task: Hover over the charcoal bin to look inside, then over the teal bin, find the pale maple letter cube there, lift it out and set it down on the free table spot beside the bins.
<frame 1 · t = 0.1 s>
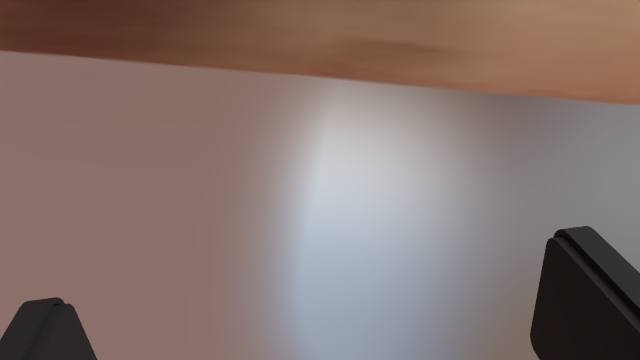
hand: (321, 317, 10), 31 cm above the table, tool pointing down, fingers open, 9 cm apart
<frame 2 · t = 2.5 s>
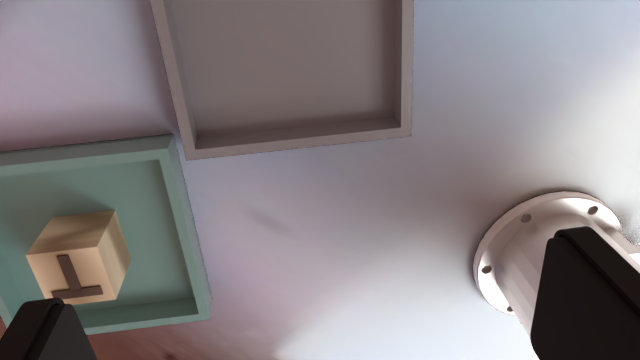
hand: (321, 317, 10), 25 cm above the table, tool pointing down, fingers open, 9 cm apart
letter cube: (92, 238, 36), resting on teal bin
teal bin: (94, 235, 37), on the table
charcoal bin: (286, 25, 31), on the table
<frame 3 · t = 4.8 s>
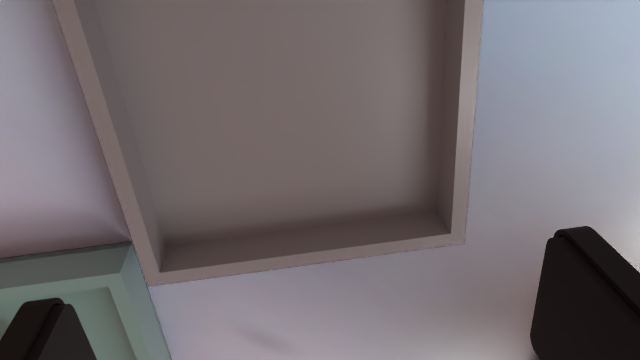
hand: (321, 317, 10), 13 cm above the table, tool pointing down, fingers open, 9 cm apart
charcoal bin: (288, 95, 21), on the table
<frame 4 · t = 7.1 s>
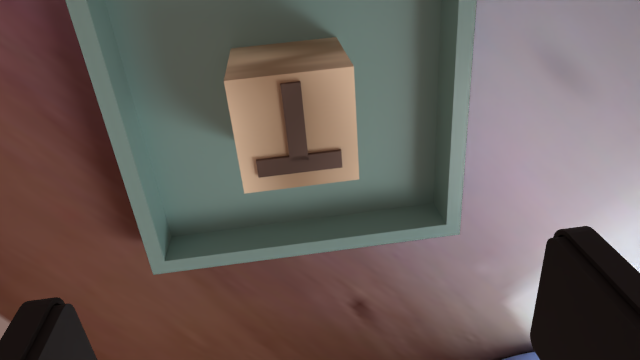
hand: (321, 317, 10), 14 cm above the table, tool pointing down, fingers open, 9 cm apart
letter cube: (289, 93, 22), resting on teal bin
teal bin: (289, 90, 22), on the table
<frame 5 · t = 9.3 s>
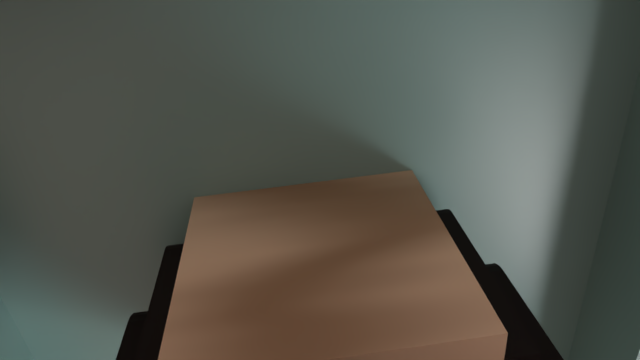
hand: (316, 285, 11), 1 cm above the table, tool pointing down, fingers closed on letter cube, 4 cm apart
letter cube: (314, 268, 11), resting on teal bin, touching gripper
teal bin: (312, 258, 11), on the table
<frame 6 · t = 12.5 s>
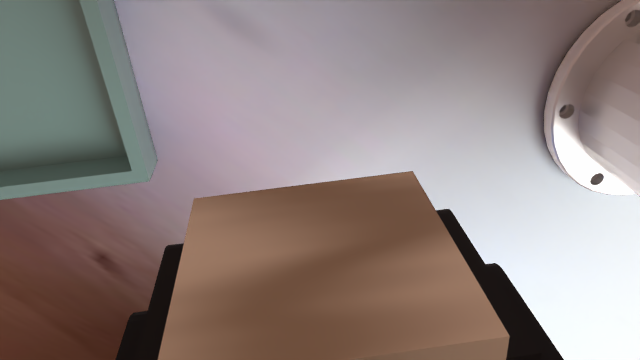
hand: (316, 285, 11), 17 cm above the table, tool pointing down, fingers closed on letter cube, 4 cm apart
letter cube: (314, 270, 11), point 17 cm above the table, touching gripper
when the fingers open (2 cm above the table, at t = 15.6 s): letter cube drops 2 cm, on the table.
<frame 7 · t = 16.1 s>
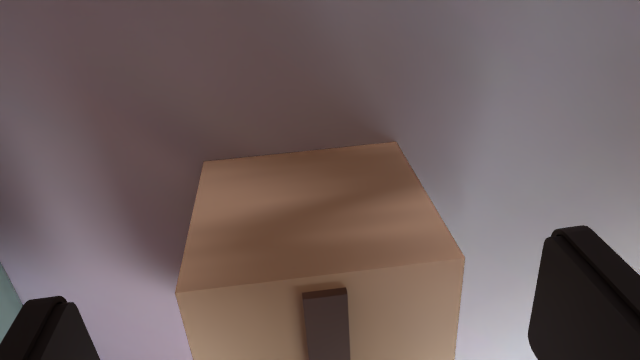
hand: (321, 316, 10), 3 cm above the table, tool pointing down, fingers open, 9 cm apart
letter cube: (307, 228, 13), on the table
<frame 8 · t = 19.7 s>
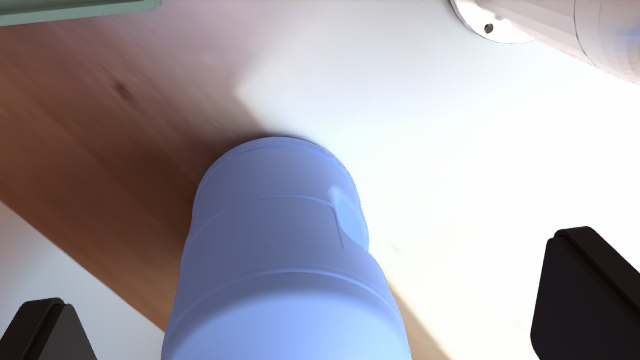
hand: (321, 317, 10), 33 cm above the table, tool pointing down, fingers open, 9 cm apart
water jug: (277, 205, 48), on the table
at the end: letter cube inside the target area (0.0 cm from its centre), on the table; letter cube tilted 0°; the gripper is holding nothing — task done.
